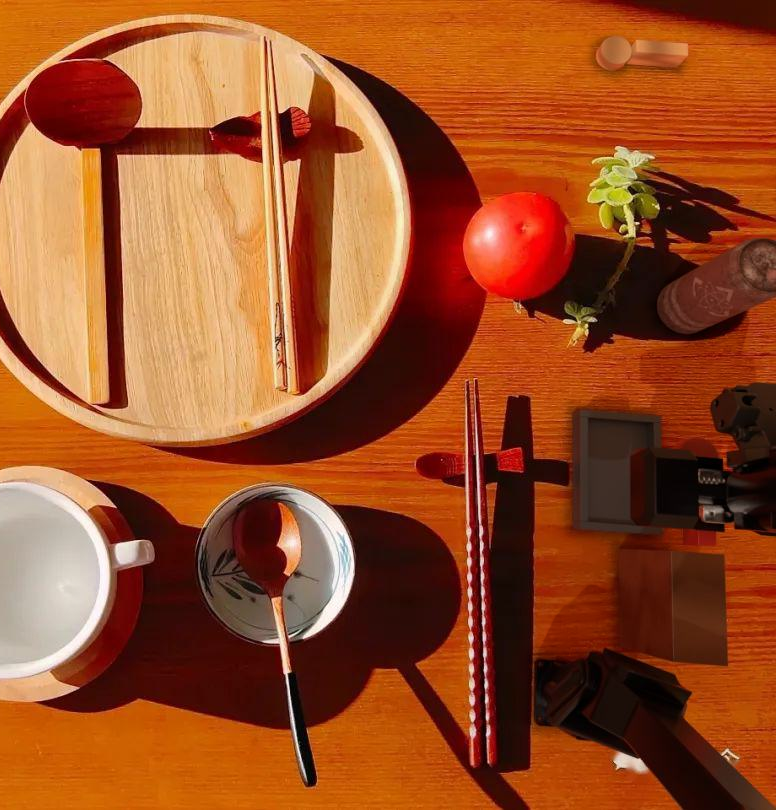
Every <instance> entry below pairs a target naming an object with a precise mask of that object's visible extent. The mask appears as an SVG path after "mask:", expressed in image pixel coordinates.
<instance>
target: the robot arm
mask: <svg viewBox="0 0 776 810" xmlns="http://www.w3.org/2000/svg"><path fill="white" fill-rule="evenodd" d="M709 412H710V415H711V419H712V423H713V427H714V430H715V432H716V433H719V434H726V435H730V436H731V437H732V440H733V441H734V442H735V445H736V447H737V448H738V449H734V450H728V451H726V453H725V455H726V467H727V468H728V469H732V470H725V469H724V458H723V457H719V458H712V457H700V456H695V455H694V454H693V452H692V451H691V450H680V449H673V448H668V447H662V448H656V447H646V448H641V449H637V450H636V451H635V452H634V453H632V454H631V455H630V519H631V520H632V521H633V522H634V523H635V524H636V525H637V526H645V527H657V528H663V529H671V530H683V529H694V530H701V531H713V532H716V533H726V525H731V524H733V527H734V528H733V529H734V530H737V531H749V532H753V533H755V534H757V535H760V536H763V537H774V538H776V383H772V382H771V383H769V382H759V381H755V382H751V383H749V384H748V385H743V384H737V385H735V386H734V387H733V388H728V387H727V388H726V387H725V388H723V389H722V390H721V393H719V394H718V395H717V396H716V397H715V398H714V399H712V400H711V402H710V405H709ZM539 663H541V664H540V665H539ZM692 694H693V691H692V690H689V689H688V688H685V687H684V686H683V685H682V684H681V683H680V681H679V679H678V677H677V674H675V673H672V672H669V671H668V670H665V669H662V668H659V667H657V666H654V665H651V664H649V663H646V662H644V661H641V660H639V659H636V658H635V657H634V658H633V657H631V656H628V655H627V654H626V655H625V654H623V653H620V652H618V651H615V650H612V649H610V648H608V647H603V650H602V651H600V650H597V649H592V650H590V651H589V652H588V655H587V657H586V658H582V657H575V656H563V655H556V656H555V657H554V659H552V658H536V659H535V660H534V664H533V722H534V723H535V725H537V726H539V727H547V728H556V729H558V730H559V731H561V732H563V733H565V734H566V735H568V736H570V737H572V738H573V739H575V740H577V741H584V742H585V741H586V742H593V743H596V744H599V745H600V746H604V747H606V748H608V749H611V750H613V751H616V752H618V753H621V754H624V755H627V756H629V757H632V758H633V759H637V760H639V759H640V760H641V762H642V763H643V764H644V765H645V767H646V769H648V770H649V772H650V773H651V774H652V775H653V777H654V778H655V779H656V780H657V781H658V783H659V784H660V785H661V786H662V787H663V789H664V790H665V791H666V792H667V793H668V795H669V796H670V797H671V798H672V799H673V802H675V803H676V804H677V806H678V807H679V808H680V809H681V810H776V806H774V804H772V802H770V801H769V799H767V798H766V796H765V795H763V794H762V793H761V792H760V791H759V790H758V789H757V788H756V786H754V785H753V784H752V783H751V782H750V781H749V780H748V779H747V778H746V777H745V776H744V775H743V774H741V772H740V771H739V770H738V769H737V768H736V767H735V766H734V765H732V764H731V763H730V761H728V760H727V759H726V758H725V757H724V756H723V754H721V753H720V752H719V751H718V750H717V749H716V748H715V747H714V746H713V745H712V744H711V743H710V742H709V741H707V739H706V738H705V737H704V736H702V735H701V733H700V732H699V731H697V730H696V729H695V727H693V726H692V725H691V724H690V723H689V722H688V720H687V719H686V718H685V715H686V712H687V708H688V703H687V702H688V701H689V699H690V698H691V696H692ZM539 719H540V721H539Z"/></svg>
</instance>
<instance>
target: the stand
mask: <svg viewBox="0 0 776 810" xmlns="http://www.w3.org/2000/svg"><path fill="white" fill-rule="evenodd" d="M725 557H726V555H725V554H721V553H711V552H710V553H709V552H698V551H685V550H674V549H673V550H672V549H671V550H670V549H639V548H638V549H636V548H617V616H618V617H617V625H618V628H617V629H618V634H617V635H618V637H617V638H618V648H621V649H625V650H629V651H632V652H635V653H639V654H642V655H647V656H650V657H653V658H657V659H661V660H664V661H668V662H672V663H678V664H679V663H680V664H690V665H691V664H692V665H703V666H715V667H729V650H728V649H729V648H728V647H729V645H728V621H727V620H728V618H727V616H728V615H727V587H726V586H727V585H726V558H725Z"/></svg>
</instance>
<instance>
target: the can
mask: <svg viewBox="0 0 776 810" xmlns="http://www.w3.org/2000/svg"><path fill="white" fill-rule="evenodd" d="M775 298H776V239H774V238H769V237H755V238H754V237H753V238H747V239H745V240H743V241H741V242H739V243H737V244H736V245H734V246H732V247H731V248H729V249H727V250H725V251H724V252H721V253H720V254H718V255H717V256H715V257H712V259H709V260H708V261H706V262H704V263H702V264H701V265H699V266H698V267H696V268H694V269H692V270H690V271H689V272H687V273H686V274H683V275H682V276H680V277H678V278H676V279H675V280H674V281H672V282H670V283H668V284H667V285H665V286H664V287H663V288H662V289H661V290H660V292H659V294H658V297H657V300H656V311H657V315H658V317H659V319H660V320H661V323H663V324H664V325H665V326H666V327H667V328H668V329H670V330H672V331H673V332H676V333H679V334H684V335H689V334H695V333H698V332H700V331H702V330H705V329H708V328H710V327H713V326H714V325H717V324H719V323H722V322H723V321H726V320H727V319H730V318H732V317H734V316H736V315H737V316H738V315H739V314H741V313H744V312H746V311H748V310H751V309H752V308H755V307H757V306H759V305H762V304H763V303H766V302H769V301H770V300H773V299H775Z"/></svg>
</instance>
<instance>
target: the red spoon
mask: <svg viewBox="0 0 776 810" xmlns="http://www.w3.org/2000/svg"><path fill="white" fill-rule="evenodd" d="M672 449H680V450H691V451H692V452H693V454H694V455H695V456H700V457H712V458H720V456H719V453H718V450H717V448H716V446H715V445H714V444H713V443H712V442H711V441H709V440H707V439H706V438H703V437H697V436H696V437H695V436H694V437H688V438H685V439H681V440H679V441H678V442H677V443H675V444H674V445H673V447H672ZM717 542H718V541H717V532H713V531H701V530H694V529H682V546H683V545H684V546H693V547H717V545H718V543H717Z"/></svg>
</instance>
